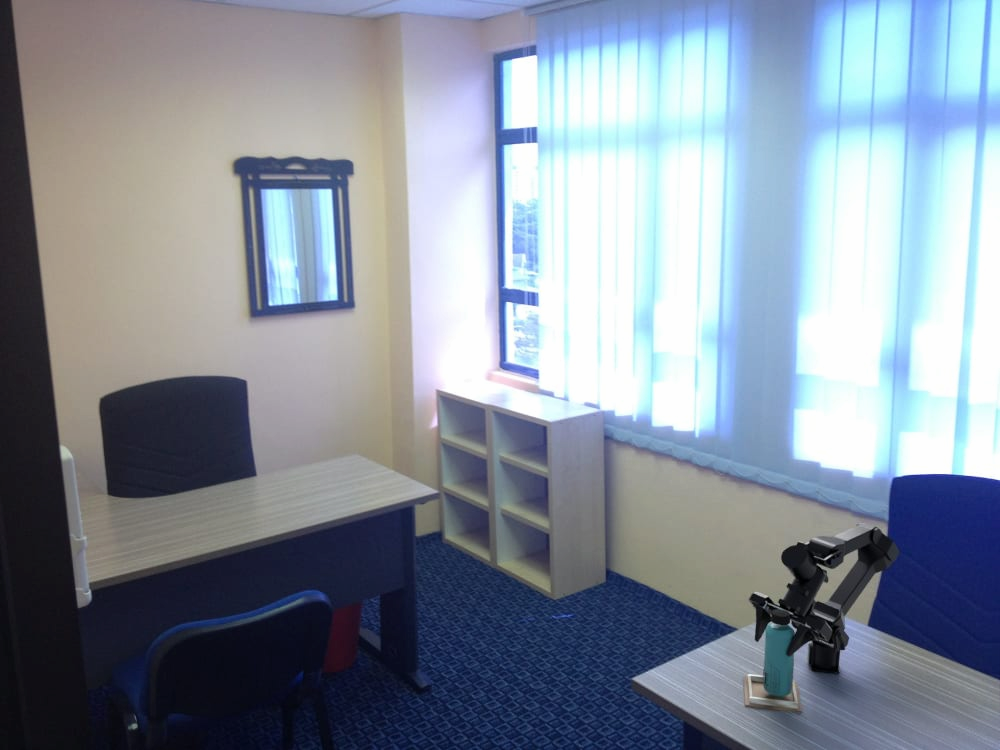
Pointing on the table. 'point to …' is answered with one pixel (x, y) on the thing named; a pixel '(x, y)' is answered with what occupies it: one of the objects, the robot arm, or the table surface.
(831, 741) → the table surface
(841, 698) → the table surface
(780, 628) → the beverage bottle
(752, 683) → the tray
